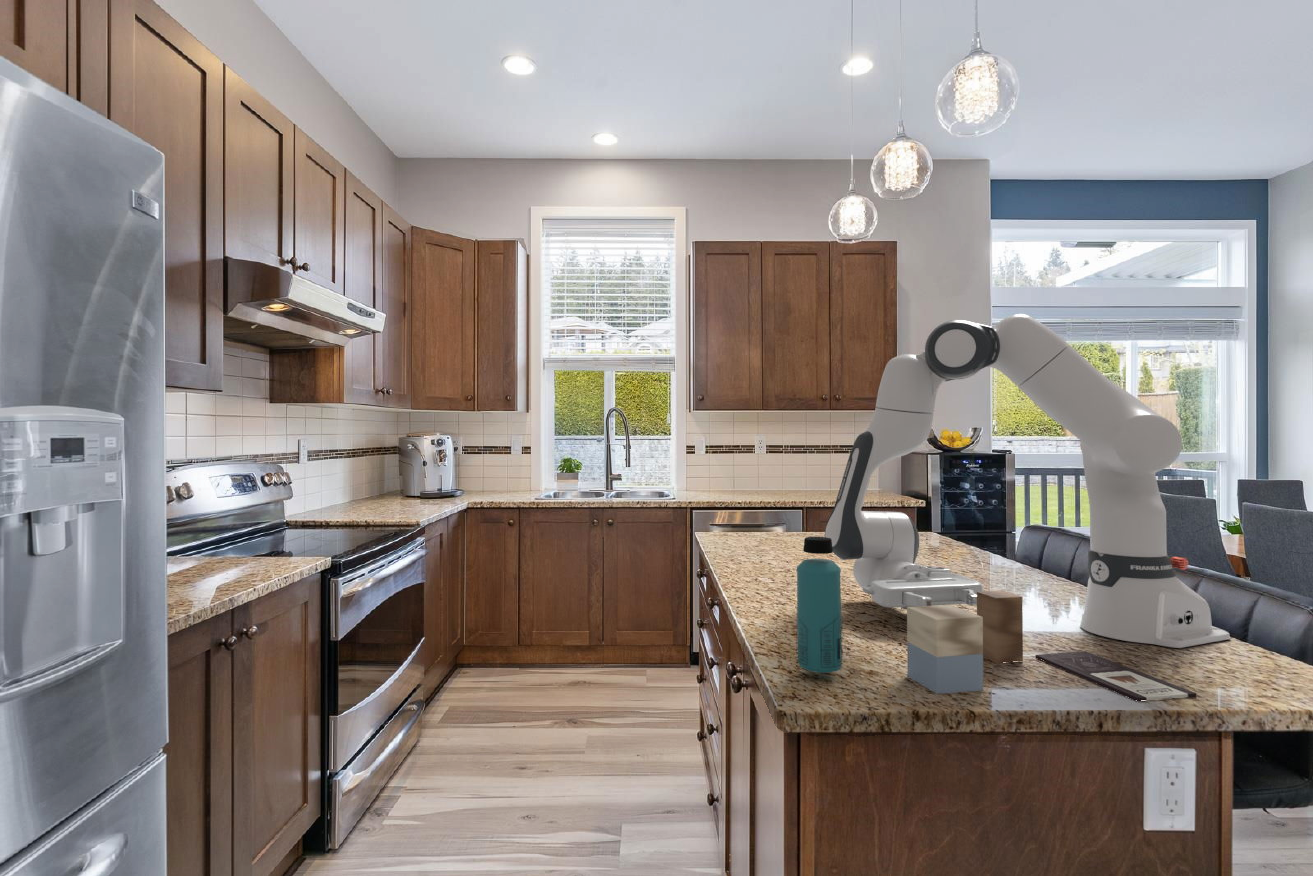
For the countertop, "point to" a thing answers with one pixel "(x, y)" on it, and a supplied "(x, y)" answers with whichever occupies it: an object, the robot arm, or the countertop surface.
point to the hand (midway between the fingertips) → (952, 602)
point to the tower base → (945, 671)
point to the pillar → (1001, 625)
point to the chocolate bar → (1115, 676)
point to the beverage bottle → (819, 610)
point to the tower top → (945, 630)
